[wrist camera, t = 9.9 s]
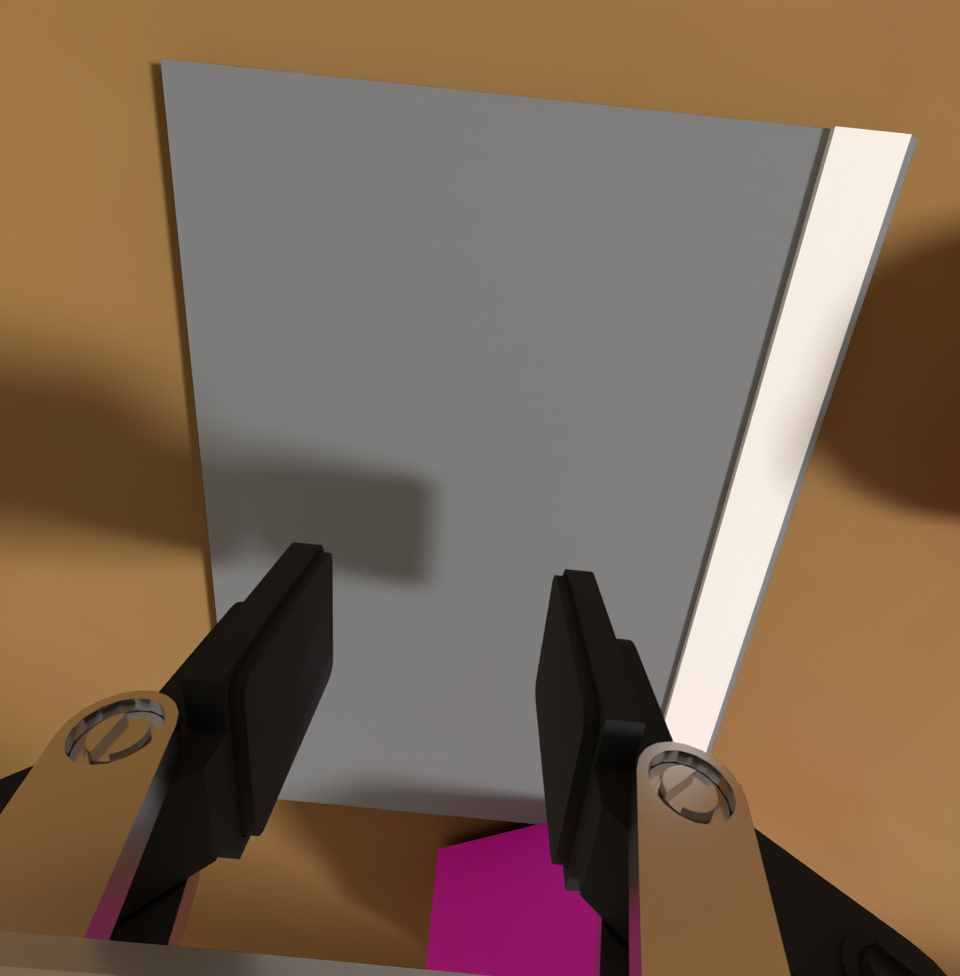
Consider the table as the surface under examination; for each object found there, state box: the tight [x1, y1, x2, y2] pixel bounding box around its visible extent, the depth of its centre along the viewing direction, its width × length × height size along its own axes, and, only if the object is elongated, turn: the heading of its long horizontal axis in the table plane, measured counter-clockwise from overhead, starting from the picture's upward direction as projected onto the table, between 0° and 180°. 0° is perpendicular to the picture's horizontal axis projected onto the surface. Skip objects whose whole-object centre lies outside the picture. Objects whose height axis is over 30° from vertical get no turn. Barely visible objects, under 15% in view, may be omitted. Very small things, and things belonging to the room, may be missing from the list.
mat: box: [160, 59, 918, 824], centre depth 14 cm, size 15×20×1 cm
